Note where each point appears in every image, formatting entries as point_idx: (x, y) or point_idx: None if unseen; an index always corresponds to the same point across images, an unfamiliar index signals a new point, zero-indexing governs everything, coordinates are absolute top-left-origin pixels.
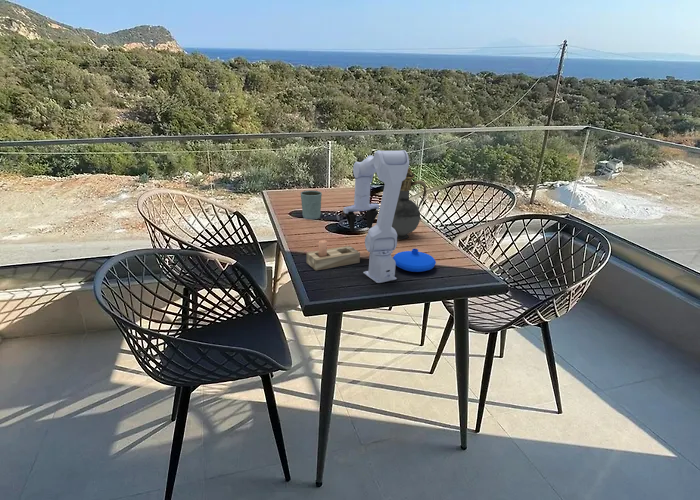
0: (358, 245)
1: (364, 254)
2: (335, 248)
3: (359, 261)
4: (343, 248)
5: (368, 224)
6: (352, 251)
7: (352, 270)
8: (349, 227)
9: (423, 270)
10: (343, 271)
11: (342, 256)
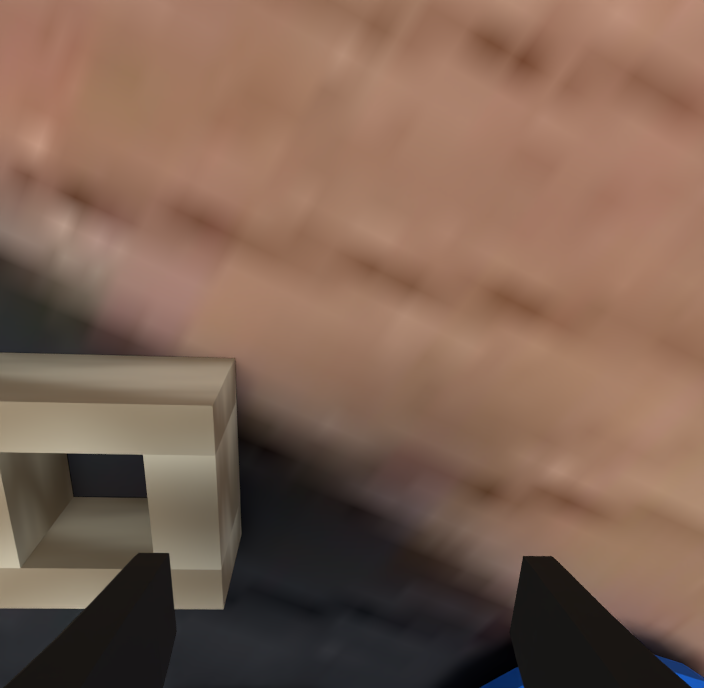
0: (499, 140)
1: (392, 400)
2: (2, 417)
3: (238, 540)
4: (101, 452)
5: (542, 656)
6: None
7: None
8: (109, 587)
9: None
10: (32, 616)
11: (14, 601)
